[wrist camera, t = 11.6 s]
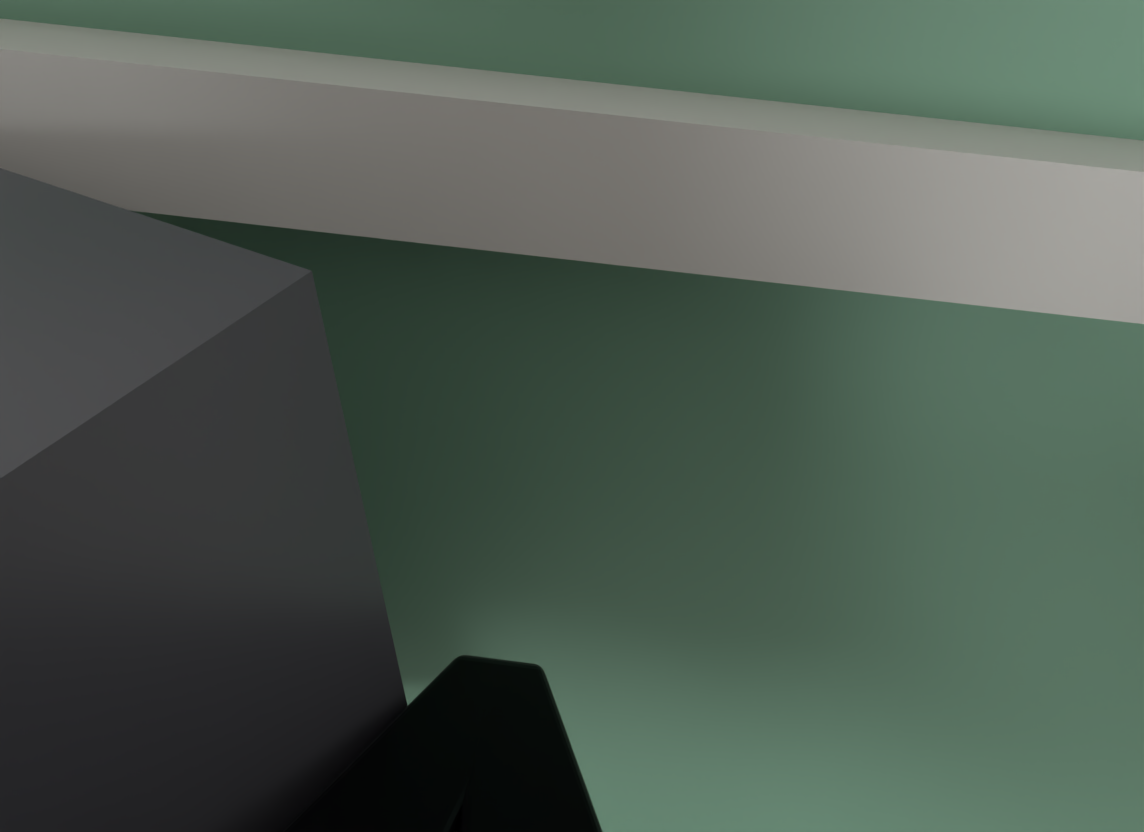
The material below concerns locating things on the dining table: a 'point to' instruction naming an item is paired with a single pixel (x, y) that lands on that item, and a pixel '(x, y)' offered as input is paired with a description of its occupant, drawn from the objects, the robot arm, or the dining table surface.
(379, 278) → the board
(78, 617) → the block
